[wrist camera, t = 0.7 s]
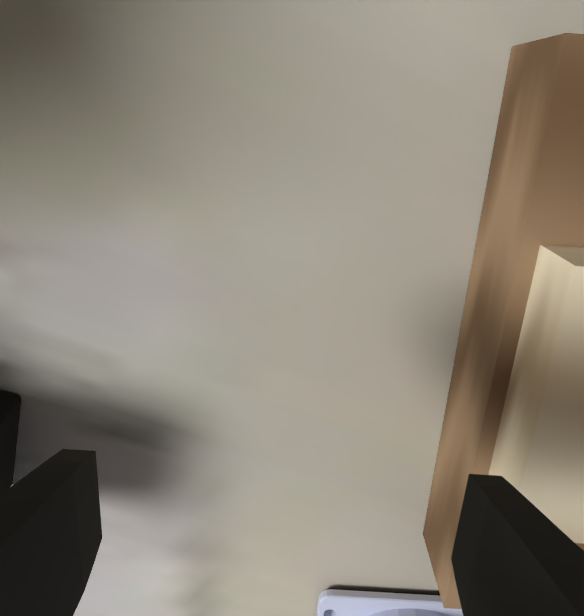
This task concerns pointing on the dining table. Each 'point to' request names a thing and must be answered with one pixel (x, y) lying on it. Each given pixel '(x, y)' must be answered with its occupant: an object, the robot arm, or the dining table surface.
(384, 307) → the dining table surface
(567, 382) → the birch block
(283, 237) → the dining table surface
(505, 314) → the board
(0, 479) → the digital camera
